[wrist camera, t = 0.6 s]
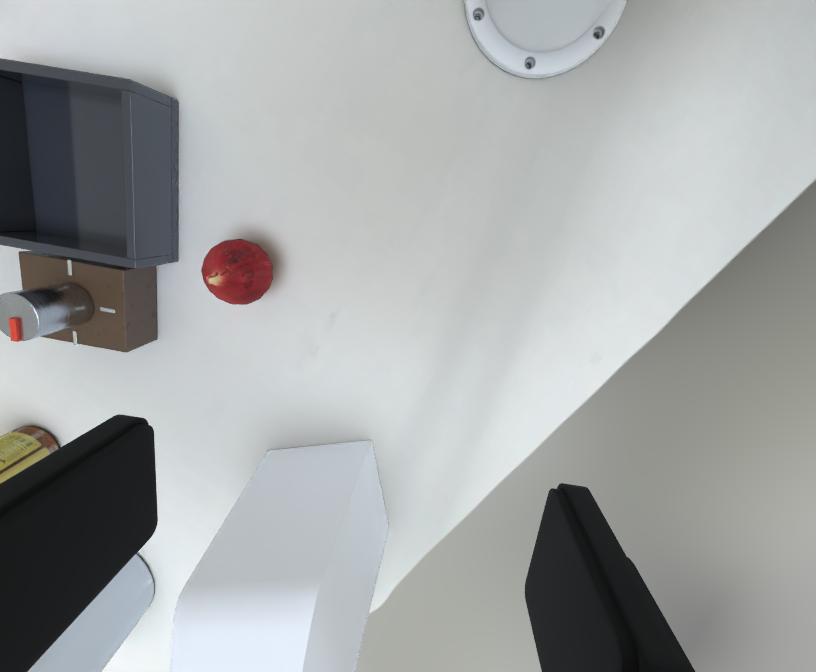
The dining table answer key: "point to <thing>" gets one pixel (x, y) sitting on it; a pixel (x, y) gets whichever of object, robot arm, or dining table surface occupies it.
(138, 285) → the block
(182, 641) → the milk
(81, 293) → the metal rotary knob
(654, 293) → the dining table surface
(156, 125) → the dark grey open box
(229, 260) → the red round fruit
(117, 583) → the utensil holder
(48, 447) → the sauce bottle
